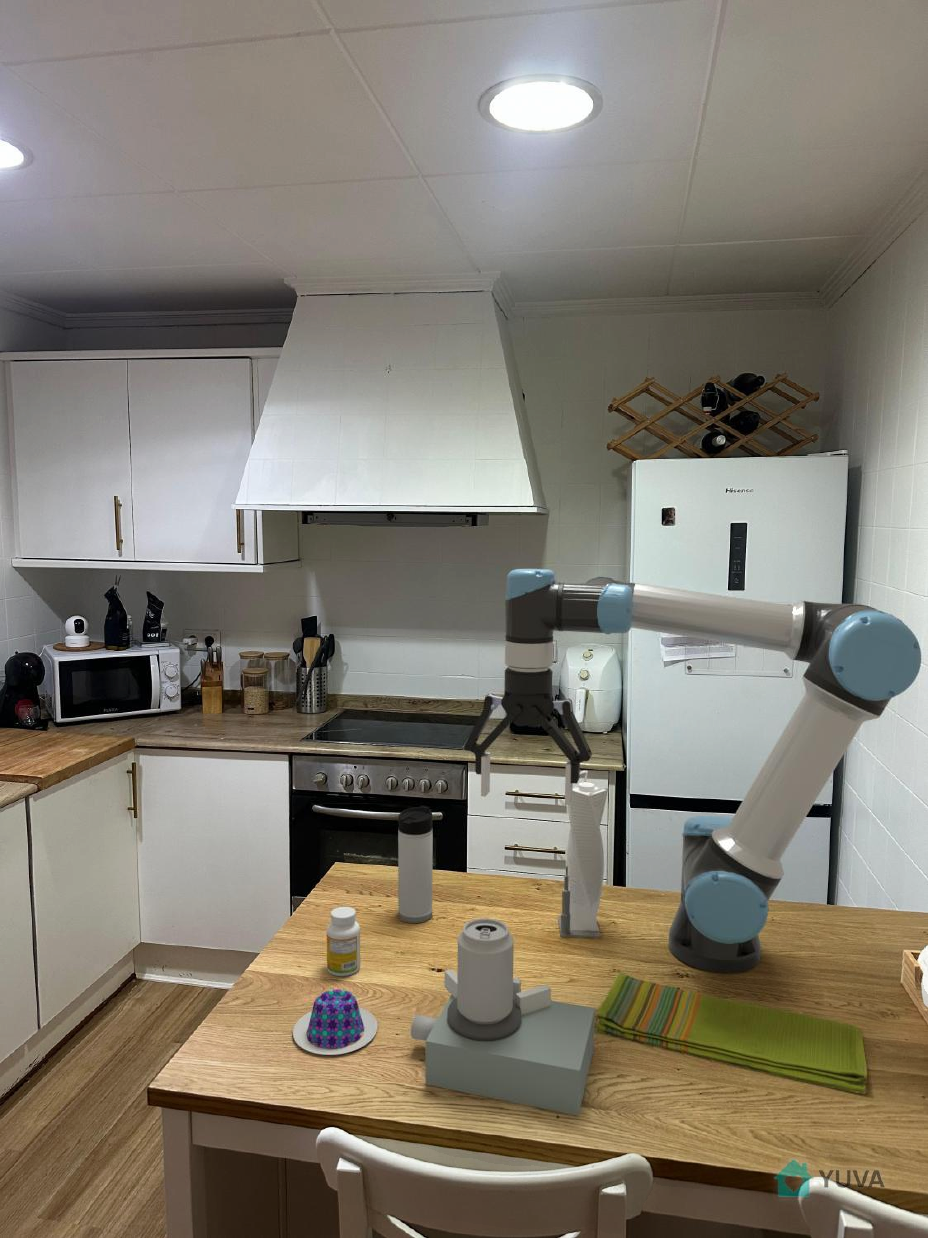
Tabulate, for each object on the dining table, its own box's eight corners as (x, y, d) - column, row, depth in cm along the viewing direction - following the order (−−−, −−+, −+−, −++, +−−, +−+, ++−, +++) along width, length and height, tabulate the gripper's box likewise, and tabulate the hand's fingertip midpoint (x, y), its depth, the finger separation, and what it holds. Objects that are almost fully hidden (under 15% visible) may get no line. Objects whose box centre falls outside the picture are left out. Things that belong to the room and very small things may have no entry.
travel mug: (439, 912, 158) (440, 809, 155) (419, 927, 152) (419, 819, 150) (412, 904, 161) (412, 803, 159) (391, 918, 155) (391, 813, 153)
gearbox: (593, 1048, 118) (595, 991, 117) (578, 1116, 104) (580, 1051, 103) (430, 1018, 124) (430, 964, 123) (396, 1078, 111) (396, 1017, 110)
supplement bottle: (336, 957, 141) (336, 902, 140) (365, 963, 140) (365, 907, 138) (321, 973, 136) (320, 916, 135) (351, 980, 135) (350, 922, 133)
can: (513, 998, 117) (515, 916, 116) (511, 1030, 110) (512, 943, 109) (460, 994, 118) (460, 913, 117) (454, 1026, 111) (454, 939, 109)
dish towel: (615, 982, 136) (616, 963, 135) (861, 1034, 122) (862, 1013, 122) (593, 1036, 121) (593, 1015, 121) (867, 1102, 108) (869, 1078, 108)
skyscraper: (557, 914, 157) (560, 768, 154) (601, 916, 157) (605, 769, 154) (560, 937, 149) (564, 783, 146) (606, 938, 149) (611, 784, 145)
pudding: (380, 1009, 127) (380, 976, 127) (374, 1059, 115) (374, 1023, 115) (300, 1009, 127) (299, 976, 126) (286, 1060, 115) (285, 1024, 114)
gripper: (611, 668, 133) (607, 798, 135) (459, 659, 140) (458, 783, 142) (605, 676, 126) (601, 814, 128) (445, 666, 133) (445, 797, 135)
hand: (526, 798), depth 135 cm, fingers open, 13 cm apart
